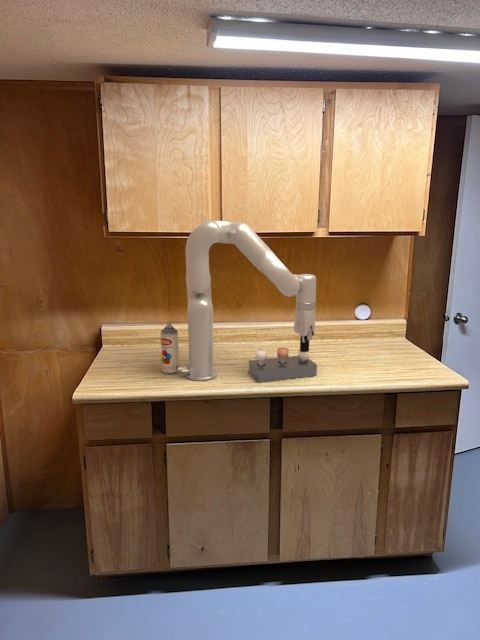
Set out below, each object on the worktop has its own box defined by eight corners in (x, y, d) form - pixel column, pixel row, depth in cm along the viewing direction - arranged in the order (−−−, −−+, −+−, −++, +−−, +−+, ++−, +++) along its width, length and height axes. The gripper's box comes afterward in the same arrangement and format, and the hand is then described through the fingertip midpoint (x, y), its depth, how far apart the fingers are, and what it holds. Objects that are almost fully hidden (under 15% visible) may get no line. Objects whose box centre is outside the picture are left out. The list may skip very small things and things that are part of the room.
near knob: (257, 373, 178) (257, 353, 176) (253, 369, 182) (254, 349, 180) (268, 372, 179) (268, 352, 177) (264, 368, 183) (264, 349, 181)
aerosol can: (158, 372, 185) (156, 324, 181) (169, 367, 191) (167, 320, 186) (172, 375, 182) (170, 326, 177) (182, 370, 188) (181, 322, 183)
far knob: (300, 372, 183) (301, 353, 181) (295, 369, 187) (296, 350, 185) (310, 371, 185) (311, 352, 183) (305, 367, 189) (306, 349, 187)
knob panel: (258, 382, 175) (258, 370, 173) (248, 372, 186) (248, 360, 185) (316, 376, 181) (316, 364, 180) (303, 366, 193) (304, 355, 191)
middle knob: (279, 370, 180) (279, 351, 178) (275, 367, 184) (275, 348, 183) (289, 369, 182) (290, 350, 180) (285, 366, 186) (285, 347, 184)
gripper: (289, 303, 186) (288, 346, 190) (304, 310, 172) (303, 357, 176) (306, 301, 188) (305, 345, 192) (323, 309, 174) (321, 355, 178)
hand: (304, 351), depth 184 cm, fingers closed
